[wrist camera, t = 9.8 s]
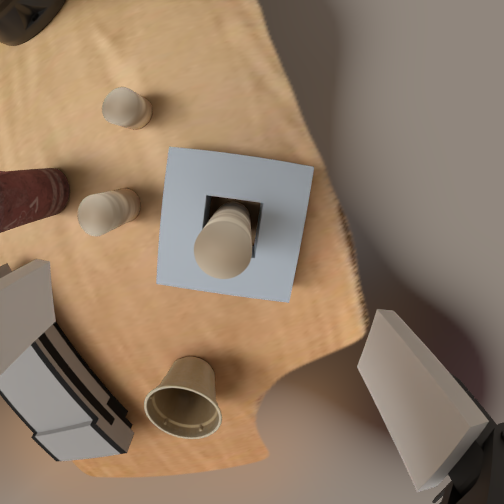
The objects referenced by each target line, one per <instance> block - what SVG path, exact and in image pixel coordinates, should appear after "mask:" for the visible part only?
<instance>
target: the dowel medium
mask: <svg viewBox="0 0 504 504" xmlns="http://www.w3.org/2000/svg"><path fill="white" fill-rule="evenodd" d="M140 207H141V204H140V199H139V197H138V195H137V194H136V193H135V192H134V191H133V190H131V189H127V188H124V189H118V190H113V191H108V192H103V193H98V194H93V195H89V196H87V197H86V198H84V199H83V200H82V202H81V203H80V205H79V208H78V221H79V224H80V226H81V228H82V229H83V230H84V231H85V232H86V233H87V234H89V235H91V236H101V235H103V234H105V233H107V232H109V231H111V230H113V229H115V228H117V227H119V226H121V225H123V224H125V223H128V222H130V221H132V220H133V219H135V218H136V217H137V215H138V214H139V212H140Z"/></svg>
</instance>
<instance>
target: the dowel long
mask: <svg viewBox="0 0 504 504" xmlns="http://www.w3.org/2000/svg"><path fill="white" fill-rule="evenodd" d="M194 256H195V260H196V262H197V264H198V266H199V267H200V268H201V270H202V271H204V272H205V273H206V274H208V275H209V276H211V277H214V278H218V279H230V278H233V277H236V276H238V275H239V274H241V273H242V272H243V271H244V270H245V269H246V268H247V267H248V265H249V263H250V261H251V257H252V238H251V220H250V213H249V211H248V209H247V208H246V207H245V206H244V205H243V204H241V203H238V202H227V203H224V204H223V205H221V206H220V207H219V208H218V210H217V211H216V212H215V214H214V215H213V216H212V218H211V219H210V220H209V221H208V223H207V224H206V225H205V227H204V228H203V229H202V231H201V232H200V233H199V235H198V236H197V238H196V241H195V244H194Z"/></svg>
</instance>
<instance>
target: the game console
mask: <svg viewBox="0 0 504 504" xmlns="http://www.w3.org/2000/svg"><path fill="white" fill-rule="evenodd" d="M11 272H12V271H11V269H10V267H9V265H8V263H6V264H4V265H2V266H0V278H2V277H4V276H6V275H7V274H9V273H11ZM0 395H1V396H2V398H3V399H4V400H5V401H6V402H7V404H8V405H9V406H10V407H11V408H12V410H13V411H14V412H15V413H16V414H17V415H18V416H19V418H20V419H21V420H22V421H23V422H24V423H25V424H26V425H27V426H28V428H29V429H30V430H31V431H32V432H33V433H34V434H33V436H32V438H33V440H35V441H36V443H38V445H40V446H41V447H42V448H43V449H44V450H45V451H46V452H47V453H48V454H49V455H50V456H51V457H52V458H54V460H56V461H69V460H79V459H89V458H97V457H104V456H111V455H117V454H123V453H127V451H128V449H129V446H130V443H131V441H132V438H133V435H134V432H133V431H132V430H131V427H132V425H133V424H132V423H131V422H130V421H129V420H128V419H127V418H126V417H125V416H126V414H127V412H128V411H127V410H126V409H125V408H124V407H123V406H122V405H121V404H120V402H119V401H118V400H117V399H116V398H115V397H114V396H113V395H112V394H111V392H110V391H109V390H108V389H107V388H106V387H105V386H104V384H103V383H102V382H101V381H100V380H99V379H98V377H97V376H96V375H95V374H94V372H93V371H92V370H91V369H90V368H89V366H88V365H87V364H86V362H85V361H84V360H83V359H82V357H81V356H80V355H79V353H78V352H77V351H76V349H75V348H74V347H73V345H72V344H71V343H70V341H69V340H68V339H67V337H66V336H65V334H64V333H63V331H62V330H61V329H60V327H59V326H58V324H57V323H56V322H54V323H53V324H52V325H51V326H50V327H49V328H48V329H47V330H46V331H45V332H44V333H43V334H42V335H41V336H40V337H38V338H37V339H36V340H35V341H34V342H33V343H32V344H31V345H30V346H29V347H28V348H27V349H26V350H25V351H24V352H23V353H22V354H21V355H20V356H19V357H18V358H17V359H16V360H15V361H14V362H13V363H12V364H11V365H10V366H9V367H8V368H7V369H6V370H5V371H4V372H3V373H2V374H1V375H0Z"/></svg>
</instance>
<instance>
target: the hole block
mask: <svg viewBox="0 0 504 504" xmlns="http://www.w3.org/2000/svg"><path fill="white" fill-rule="evenodd" d="M313 171H314V167H312V166H306V165H301V164H296V163H290V162H284V161H278V160H272V159H266V158H259V157H253V156H246V155H239V154H231V153H223V152H215V151H207V150H197V149H187V148H177V147H169V152H168V159H167V167H166V175H165V183H164V192H163V201H162V211H161V222H160V234H159V248H158V263H157V283H156V284H161V285H167V286H173V287H180V288H186V289H193V290H199V291H206V292H213V293H219V294H227V295H234V296H241V297H248V298H256V299H264V300H272V301H280V302H288V303H289V300H290V295H291V290H292V286H293V281H294V276H295V271H296V266H297V261H298V256H299V250H300V245H301V240H302V235H303V229H304V224H305V218H306V213H307V207H308V201H309V195H310V190H311V184H312V178H313ZM212 196H217V197H224V198H232V199H239V200H246V201H253V202H259V203H261V204H260V210H259V216H258V223H257V229H256V236H255V242H254V246H252V257H251V261H250V263H249V265H248V267H247V268H246V269H245V270H244V271H243V272H242V273H241V274H239V275H238V276H236V277H233V278H230V279H218V278H214V277H211V276H209V275H208V274H206V273H205V272H204V271H202V270H201V268H200V267H199V266H198V264H197V262H196V260H195V256H194V244H195V241H196V238H197V236H198V235H199V233H200V232H201V231H202V229H203V228H204V227H205V225H206V224H207V223H208V221H209V213H210V205H211V197H212Z"/></svg>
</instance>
